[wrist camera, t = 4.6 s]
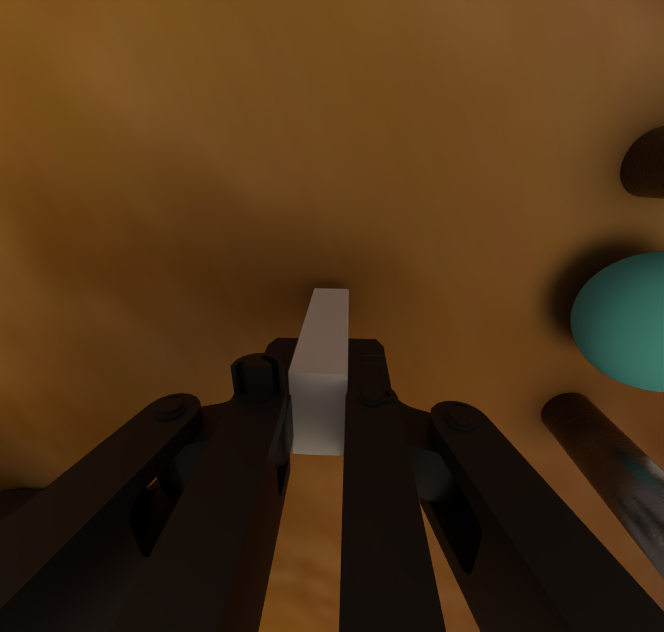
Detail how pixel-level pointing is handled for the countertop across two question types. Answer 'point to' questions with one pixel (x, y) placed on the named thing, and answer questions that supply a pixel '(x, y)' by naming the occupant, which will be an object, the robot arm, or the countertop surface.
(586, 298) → the ball
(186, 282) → the countertop surface
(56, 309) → the countertop surface
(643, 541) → the post
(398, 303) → the countertop surface
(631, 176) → the post
